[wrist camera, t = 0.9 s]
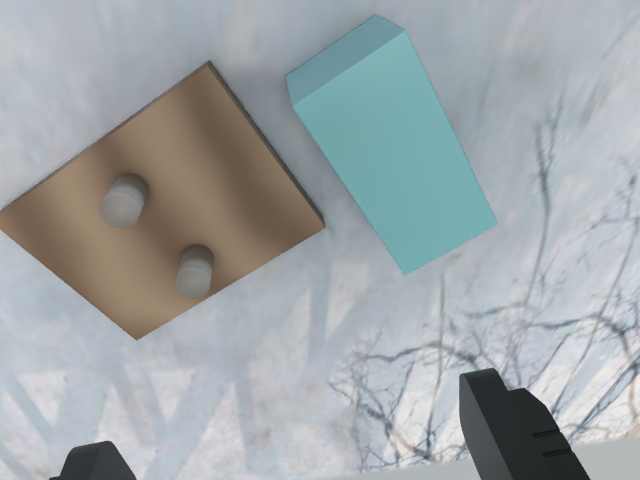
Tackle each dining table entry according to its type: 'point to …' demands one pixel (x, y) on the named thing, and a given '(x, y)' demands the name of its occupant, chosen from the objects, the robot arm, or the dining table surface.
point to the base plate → (165, 207)
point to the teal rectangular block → (391, 142)
